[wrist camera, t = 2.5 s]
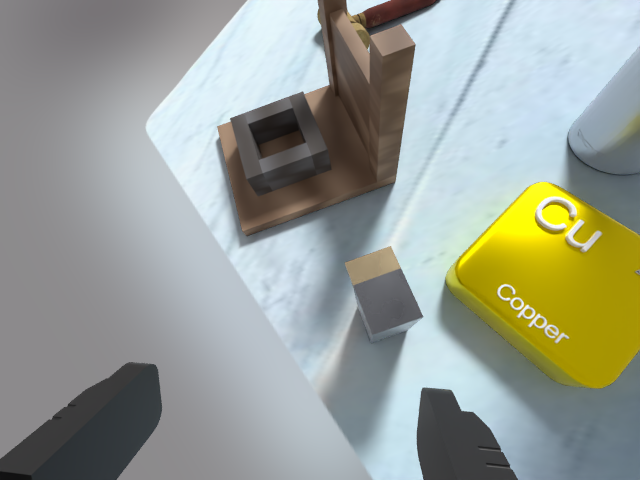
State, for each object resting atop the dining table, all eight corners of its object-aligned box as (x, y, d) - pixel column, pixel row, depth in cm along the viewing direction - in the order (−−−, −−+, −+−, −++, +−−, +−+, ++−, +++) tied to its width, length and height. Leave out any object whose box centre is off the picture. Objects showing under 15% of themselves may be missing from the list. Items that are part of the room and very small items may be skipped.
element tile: (436, 281, 33) (446, 269, 29) (522, 194, 36) (543, 170, 31) (568, 396, 28) (606, 402, 23) (659, 283, 30) (709, 270, 26)
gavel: (433, -42, 49) (469, -12, 45) (426, -10, 54) (459, 21, 50) (315, 0, 48) (343, 36, 44) (318, 30, 52) (343, 65, 48)
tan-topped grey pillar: (384, 277, 34) (390, 246, 25) (407, 330, 31) (423, 316, 22) (351, 289, 34) (344, 262, 25) (371, 343, 32) (372, 335, 22)
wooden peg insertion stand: (346, 87, 45) (333, -70, 29) (395, 181, 38) (415, 44, 22) (221, 133, 46) (138, 4, 29) (246, 236, 38) (155, 140, 22)
